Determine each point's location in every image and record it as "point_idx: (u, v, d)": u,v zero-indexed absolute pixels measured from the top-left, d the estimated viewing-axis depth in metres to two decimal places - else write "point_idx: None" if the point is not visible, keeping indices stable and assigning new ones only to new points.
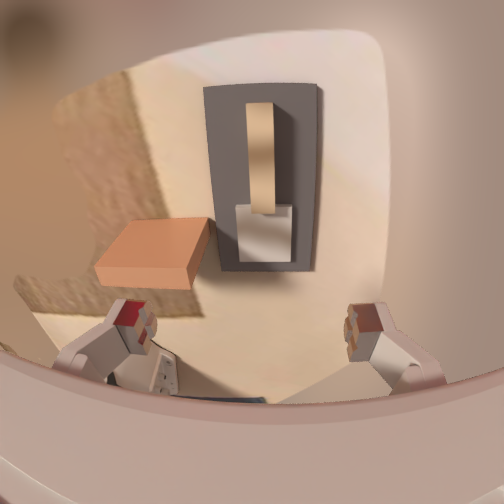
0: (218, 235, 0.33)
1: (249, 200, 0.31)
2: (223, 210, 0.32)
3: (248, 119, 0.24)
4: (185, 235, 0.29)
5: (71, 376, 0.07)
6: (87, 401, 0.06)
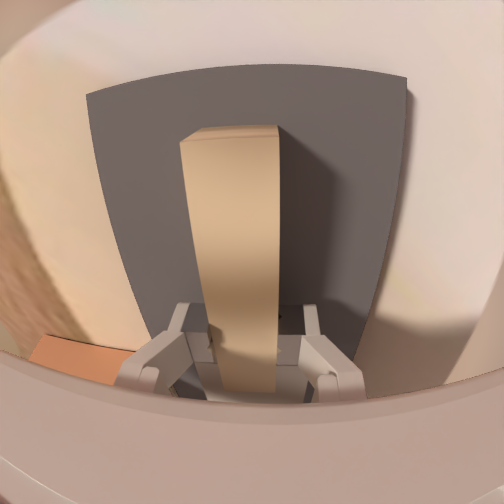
0: None
1: None
2: None
3: (192, 196, 0.07)
4: None
5: (71, 376, 0.07)
6: (87, 401, 0.06)
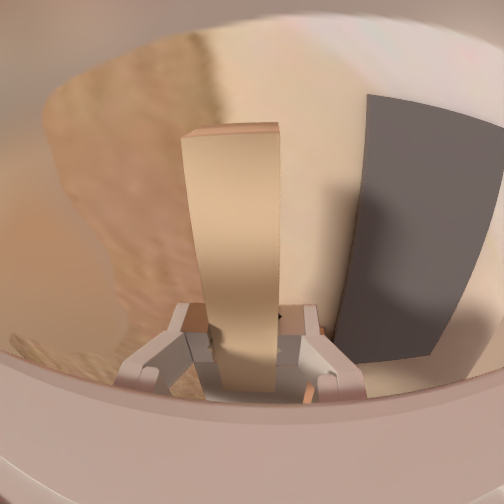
0: (339, 328, 0.21)
1: (398, 285, 0.19)
2: (358, 299, 0.19)
3: (193, 192, 0.07)
4: None
5: (71, 376, 0.07)
6: (87, 401, 0.06)
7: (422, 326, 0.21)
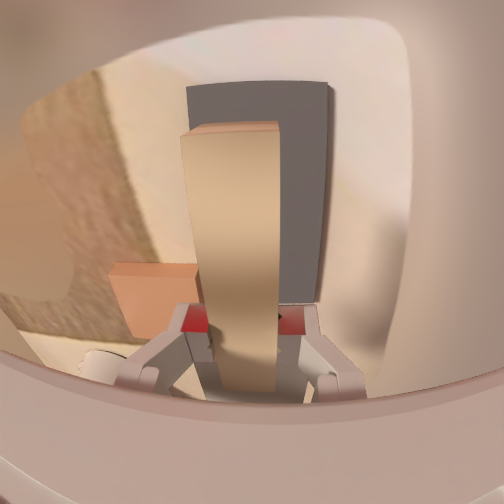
0: None
1: None
2: None
3: (192, 191, 0.07)
4: None
5: (71, 376, 0.07)
6: (87, 401, 0.06)
7: (288, 268, 0.28)
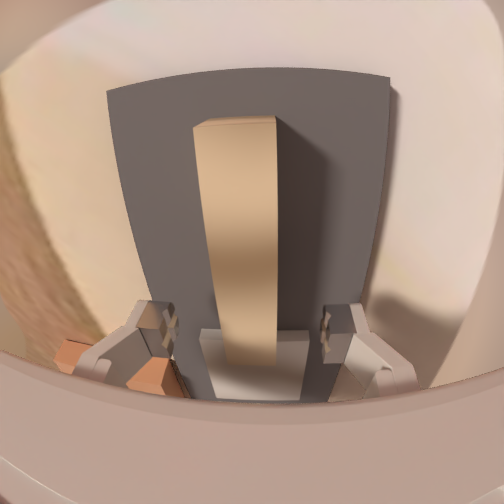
0: (178, 364, 0.18)
1: None
2: (180, 336, 0.16)
3: (203, 173, 0.08)
4: None
5: (71, 376, 0.07)
6: (87, 401, 0.06)
7: None
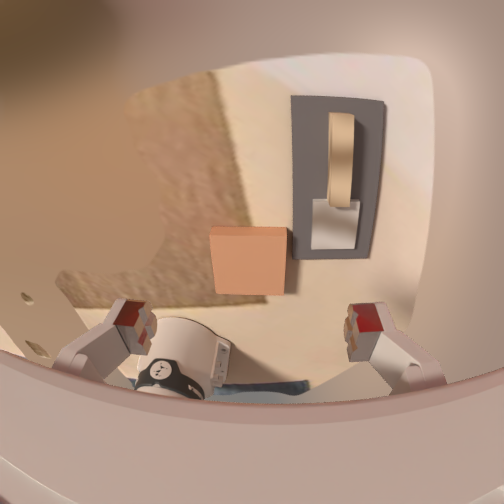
0: (294, 227, 0.37)
1: (324, 196, 0.35)
2: (301, 205, 0.36)
3: (334, 127, 0.28)
4: (274, 263, 0.39)
5: (71, 376, 0.07)
6: (87, 401, 0.06)
7: None
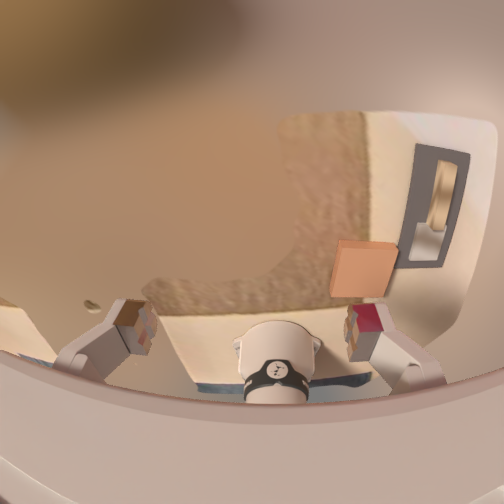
0: (400, 243, 0.43)
1: (425, 221, 0.41)
2: (409, 226, 0.41)
3: (445, 173, 0.34)
4: (384, 271, 0.44)
5: (71, 376, 0.07)
6: (87, 401, 0.06)
7: None
